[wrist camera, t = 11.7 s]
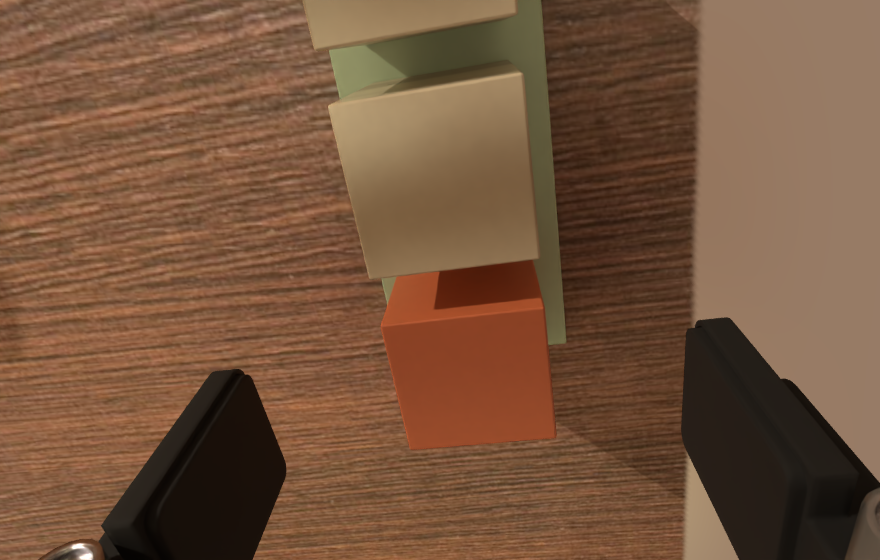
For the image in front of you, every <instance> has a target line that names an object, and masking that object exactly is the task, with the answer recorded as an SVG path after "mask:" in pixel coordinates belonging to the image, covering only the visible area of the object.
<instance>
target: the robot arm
mask: <svg viewBox="0 0 880 560" xmlns="http://www.w3.org/2000/svg"><path fill="white" fill-rule="evenodd" d="M681 432H682V439H683V443H684V446H685V448H686V450H687V452H688V455H689V457H690V459H691V461H692V463H693V465H694V467H695V469H696V471H697V473H698V475H699V477H700V479H701V482H702V484H703V486H704V488H705V490H706V492H707V494H708V496H709V498H710V500H711V502H712V504H713V506H714V508H715V511H716V513H717V514H718V517H719V519H720V521H721V523H722V525H723V527H724V529H725V531H726V533H727V535H728V537H729V540H730V542H731V544H732V546H733V548H734V550H735V552H736V554H737V556H738V558H739V560H880V483H879V482H878V480H877V479H876V478H875V477H874V476H873V475H872V473H871V472H870V471H869V470H868V469H867V468H866V466H865V465H864V464H863V463H862V462H861V461H860V459H859V458H858V457H857V456H856V455H855V454H854V452H853V451H852V450H851V449H850V448H849V447H848V445H847V444H846V443H845V442H844V441H843V439H842V438H841V437H840V436H839V435H838V434H837V432H836V431H835V430H834V429H833V428H832V427H831V426H830V424H829V423H828V422H827V421H826V420H825V419H824V418H823V416H822V415H821V414H820V413H819V412H818V410H817V409H816V408H815V407H814V406H813V405H812V403H811V402H810V401H809V400H808V399H807V398H806V396H805V395H804V394H803V393H802V392H801V391H800V389H799V388H798V387H797V386H796V385H795V384H794V383H793V382H792V381H790V380H788V379H780V378H779V376H778V375H777V374H776V373H775V372H774V370H773V369H772V368H771V367H770V365H769V364H768V363H767V362H766V361H765V360H764V358H763V357H762V356H761V355H760V353H759V352H758V351H757V350H756V349H755V347H754V346H753V345H752V344H751V343H750V341H749V340H748V339H747V338H746V337H745V335H744V334H743V333H742V332H741V331H740V329H739V328H738V327H737V326H736V325H735V323H734V322H733V321H732V320H731V319H730V318H716V319H707V320H698V321H697V322H696V324H695V328H690V329H688V330H687V332H686V346H685V366H684V386H683V405H682V425H681ZM285 476H286V463H285V460H284V457H283V455H282V452H281V450H280V447H279V445H278V442H277V440H276V437H275V435H274V432H273V430H272V427H271V425H270V422H269V420H268V417H267V415H266V412H265V410H264V407H263V405H262V402H261V400H260V397H259V395H258V392H257V389H256V387H255V384H254V382H253V380H252V378H251V376H249V375H245V374H244V372H243V371H242V370H240V369H233V370H223V371H215V372H212V373H211V374H210V375H209V377H208V378H207V379H206V381H205V382H204V384H203V385H202V386H201V388H200V389H199V391H198V392H197V393H196V395H195V396H194V397H193V399H192V400H191V402H190V403H189V404H188V406H187V407H186V409H185V410H184V411H183V413H182V414H181V415H180V417H179V418H178V420H177V421H176V422H175V424H174V425H173V427H172V428H171V429H170V431H169V432H168V433H167V435H166V436H165V438H164V439H163V440H162V442H161V443H160V445H159V446H158V447H157V449H156V450H155V451H154V453H153V454H152V456H151V457H150V458H149V460H148V461H147V463H146V464H145V465H144V467H143V468H142V470H141V471H140V472H139V474H138V475H137V476H136V478H135V479H134V481H133V482H132V483H131V485H130V486H129V488H128V489H127V490H126V492H125V493H124V494H123V496H122V497H121V499H120V500H119V501H118V503H117V504H116V506H115V507H114V508H113V510H112V511H111V512H110V514H109V515H108V517H107V518H106V519H105V521H104V522H103V524H102V525H101V527H102V528H103V530H104V531H105V533H104V534H103V536H102V537H101V539H100V540H99V542H97V541H95V540H93V539H79V540H75V541H71V542H68V543H66V544H64V545H61V546H59V547H57V548H55V549H53V550H52V551H50V552H49V553H47V554H45V555H44V556H42V557H41V558H40V559H38V560H252V559H253V557H254V554H255V552H256V550H257V547H258V545H259V542H260V540H261V537H262V535H263V532H264V530H265V527H266V525H267V522H268V520H269V517H270V515H271V512H272V510H273V507H274V505H275V502H276V500H277V497H278V495H279V492H280V490H281V487H282V485H283V482H284V480H285Z"/></svg>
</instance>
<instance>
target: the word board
mask: <svg viewBox="0 0 880 560" xmlns="http://www.w3.org/2000/svg"><path fill="white" fill-rule="evenodd" d="M302 1H303V5H304V9H305V14H306V18H307V22H308V26H309V30H310V34H311V39H312V43H313V47H314V49H315V51H326V50H329V53H330V57H331V62H332V66H333V70H334V75H335V79H336V84H337V88H338V92H339V97H340V100H338V101H336V102H334V103H332V104H330V105H329V106H328V109H329V113H330V118H331V122H332V126H333V130H334V134H335V138H336V143H337V147H338V151H339V155H340V159H341V163H342V168H343V172H344V176H345V180H346V184H347V188H348V193H349V197H350V201H351V205H352V209H353V213H354V218H355V222H356V226H357V230H358V234H359V238H360V242H361V247H362V251H363V255H364V259H365V263H366V267H367V272H368V276H369V278H370V280H374V279H382V284H383V288H384V292H385V297H386V301H387V305H388V302H389V299H390V295H391V292H392V289H393V286H394V283H395V280H396V277H399V276H407V275H415V274H423V273H431V272H439V271H447V270H455V269H463V268H471V267H479V266H487V265H495V264H503V263H511V262H519V261H528V260H533V262H534V266H535V270H536V274H537V278H538V282H539V286H540V290H541V294H542V298H543V302H544V306H545V313H546V324H547V335H548V345H554V344H564V343H566V328H565V315H564V301H563V288H562V274H561V260H560V247H559V233H558V220H557V206H556V192H555V179H554V165H553V152H552V138H551V125H550V111H549V97H548V84H547V70H546V57H545V43H544V30H543V16H542V2H541V0H302Z"/></svg>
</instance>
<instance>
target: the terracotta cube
mask: <svg viewBox="0 0 880 560" xmlns="http://www.w3.org/2000/svg"><path fill="white" fill-rule="evenodd" d="M381 331H382V335H383V339H384V343H385V347H386V351H387V355H388V360H389V364H390V368H391V372H392V376H393V380H394V385H395V389H396V393H397V397H398V401H399V405H400V410H401V414H402V418H403V422H404V426H405V430H406V434H407V439H408V443H409V447H410V449H411V450H417V449H429V448H441V447H453V446H466V445H478V444H490V443H502V442H514V441H526V440H538V439H550V438H556V436H557V434H556V423H555V412H554V401H553V390H552V379H551V368H550V357H549V346H548V335H547V324H546V313H545V306H544V302H543V298H542V294H541V290H540V286H539V282H538V278H537V274H536V270H535V266H534V262H533V260H528V261H519V262H511V263H503V264H495V265H487V266H479V267H471V268H463V269H455V270H447V271H439V272H431V273H423V274H415V275H407V276H399V277H396V280H395V283H394V286H393V289H392V292H391V295H390V299H389V302H388V305H387V308H386V311H385V314H384V317H383V320H382V323H381Z"/></svg>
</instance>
